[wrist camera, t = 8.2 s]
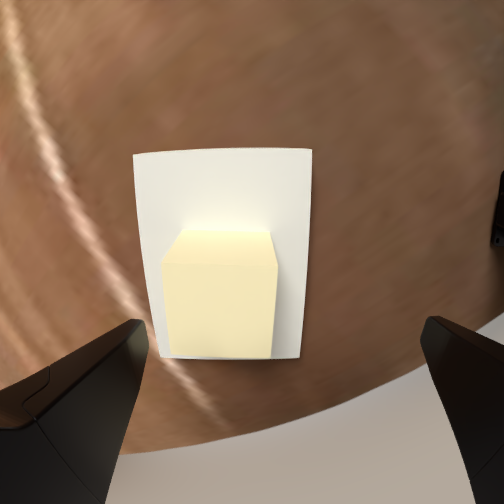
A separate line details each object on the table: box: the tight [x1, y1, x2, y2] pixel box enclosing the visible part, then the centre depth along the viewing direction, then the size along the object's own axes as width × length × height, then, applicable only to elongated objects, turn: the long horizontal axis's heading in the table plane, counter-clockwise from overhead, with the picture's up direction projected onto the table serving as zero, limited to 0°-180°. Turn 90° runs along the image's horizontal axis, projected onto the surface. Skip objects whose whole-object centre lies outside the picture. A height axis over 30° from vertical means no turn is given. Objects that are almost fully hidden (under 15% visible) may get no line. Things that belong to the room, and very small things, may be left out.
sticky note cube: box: [161, 230, 278, 358], centre depth 16 cm, size 5×5×5 cm
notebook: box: [133, 148, 312, 360], centre depth 20 cm, size 10×14×2 cm
